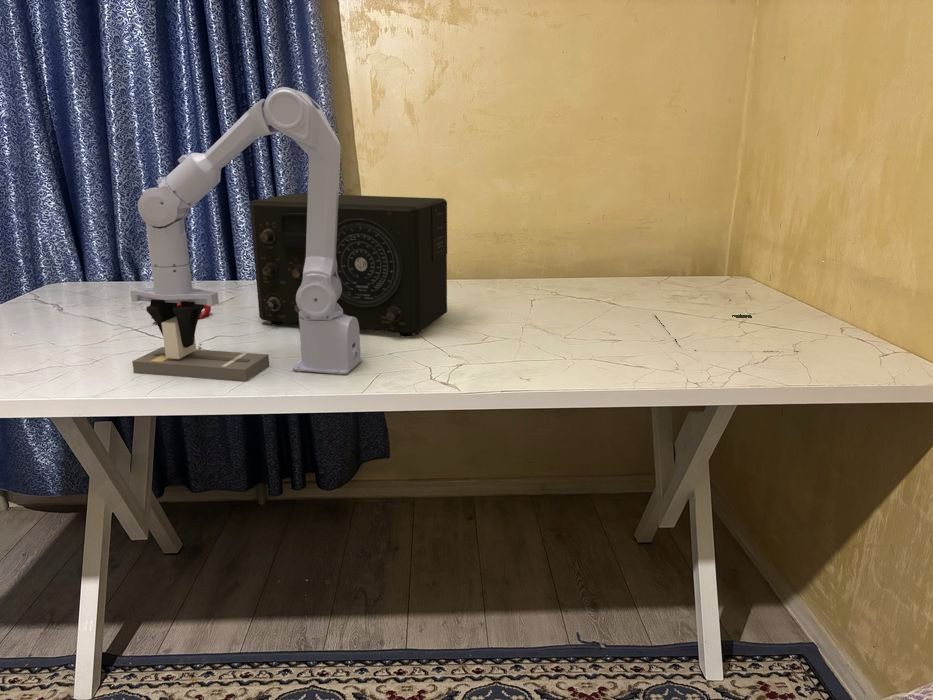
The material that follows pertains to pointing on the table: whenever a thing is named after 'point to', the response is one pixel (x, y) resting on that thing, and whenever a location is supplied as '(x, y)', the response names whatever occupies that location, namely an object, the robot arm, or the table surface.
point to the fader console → (203, 364)
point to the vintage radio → (358, 259)
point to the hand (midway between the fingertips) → (180, 345)
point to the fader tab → (174, 340)
